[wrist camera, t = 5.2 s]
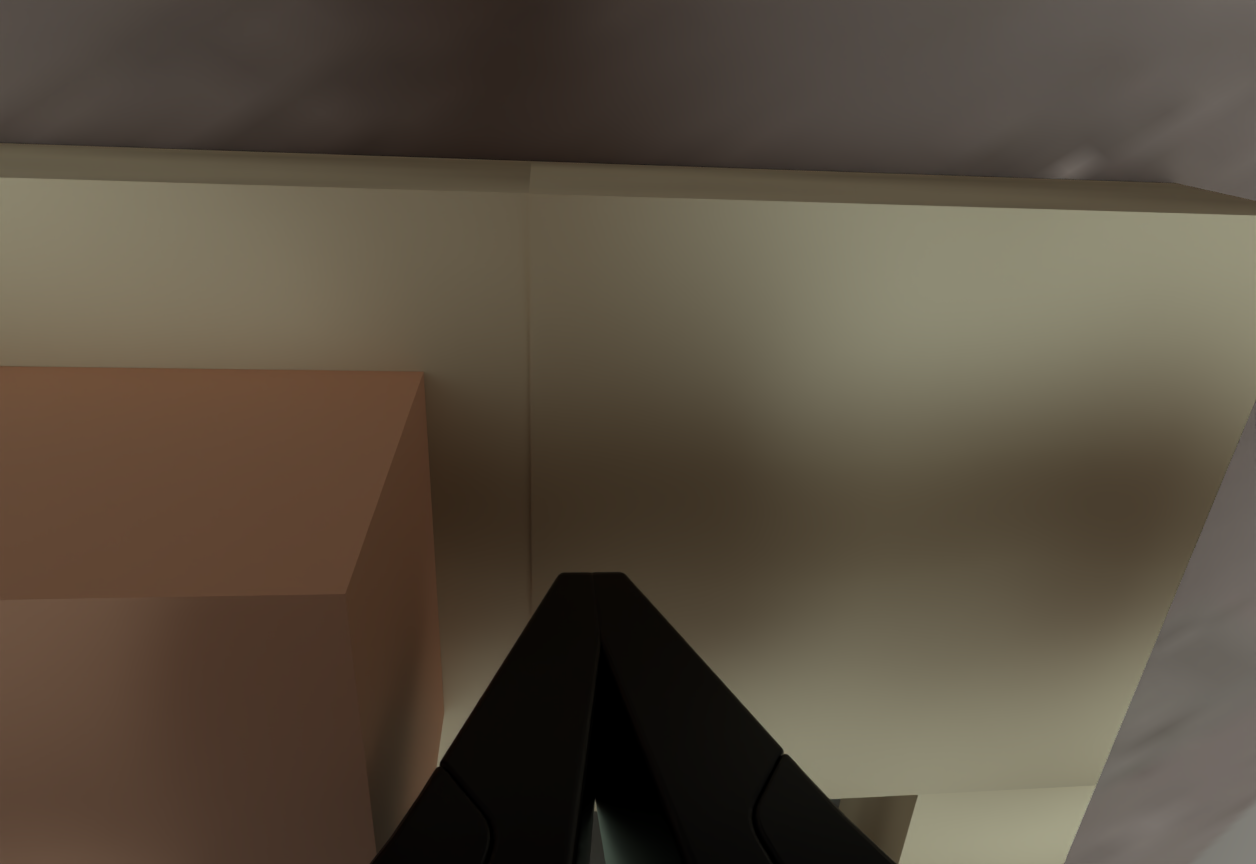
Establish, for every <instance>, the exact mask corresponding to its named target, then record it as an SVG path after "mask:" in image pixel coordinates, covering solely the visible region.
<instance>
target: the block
mask: <svg viewBox="0 0 1256 864" xmlns="http://www.w3.org/2000/svg"><path fill="white" fill-rule="evenodd" d="M443 719H444V699H443V683H442V666H441V650H440V633H439V617H438V600H437V584H436V567H435V551H434V534H433V518H432V501H431V485H430V468H429V452H428V435H427V419H426V402H425V386H424V372H418V371H339V370H260V369H181V368H102V367H23V366H0V864H370V862H371V861H372V860H373V859H374V857H375V856H376V855H377V853H378V852H379V851H380V850H381V848H382V847H383V846H384V844H385V843H386V842H387V841H388V839H389V838H390V836H391V835H392V834H393V832H394V831H395V829H396V828H397V826H398V825H399V823H400V822H401V820H402V819H403V817H404V816H405V814H406V813H407V812H408V810H409V809H410V807H411V806H412V804H413V803H414V801H415V800H416V798H417V797H418V795H419V794H420V792H421V791H422V789H423V787H424V786H425V784H426V783H427V781H428V779H429V778H430V776H431V775H432V773H433V772H434V770H435V769H436V768H437V761H438V754H439V747H440V740H441V733H442V726H443Z"/></svg>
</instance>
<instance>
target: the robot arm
mask: <svg viewBox="0 0 1256 864" xmlns="http://www.w3.org/2000/svg"><path fill="white" fill-rule="evenodd" d="M595 802H596V808H597V814H598V820H599V826H600V832H601V838H602V844H603V850H604V856H605V863H606V864H897V863H896V862H894V861H893V860H892V859H891V858H890V857H889V856H888V855H887V854H886V853H885V852H884V851H883V850H881V849H880V848H879V847H878V846H877V845H876V844H875V843H874V842H873V841H872V840H871V839H870V838H869V837H868V836H867V835H866V834H865V833H863V832H862V831H861V830H860V829H859V828H858V827H857V826H856V825H855V824H854V823H853V822H852V821H851V820H850V819H849V818H848V817H847V816H845V815H844V813H843V812H842V811H841V810H840V809H839V808H838V807H837V806H836V805H835V804H834V803H833V802H832V801H831V800H830V799H829V798H828V797H827V796H826V795H825V794H824V793H823V791H822V790H821V789H820V788H819V787H818V786H817V785H816V784H815V783H814V782H813V781H812V780H811V779H810V778H809V777H808V776H807V775H806V773H805V772H804V771H803V770H802V769H801V768H800V767H799V766H798V765H797V763H796V762H795V761H794V760H793V759H792V758H791V757H790V756H789V755H788V754H784V750H783V748H782V747H781V746H780V745H779V744H778V743H777V742H776V740H775V739H774V738H773V737H772V736H771V735H770V734H769V733H768V732H767V731H766V729H765V728H764V727H763V726H762V725H761V724H760V723H759V722H758V721H757V719H756V718H755V717H754V716H753V715H752V714H751V713H750V712H749V711H748V709H747V708H746V707H745V706H744V705H743V704H742V703H741V702H740V701H739V699H738V698H737V697H736V696H735V695H734V694H733V693H732V692H731V691H730V689H729V688H728V687H727V686H726V685H725V684H724V683H723V682H722V681H721V679H720V678H719V677H718V676H717V675H716V674H715V673H714V672H713V671H712V669H711V668H710V667H709V666H708V665H707V664H706V663H705V662H704V661H703V659H702V658H701V657H700V656H699V655H698V654H697V653H696V652H695V651H694V649H693V648H692V647H691V646H690V645H689V644H688V643H687V642H686V641H685V639H684V638H683V637H682V636H681V635H680V634H679V633H678V632H677V631H676V629H675V628H674V627H673V626H672V625H671V624H670V623H669V622H668V621H667V619H666V618H665V617H664V616H663V615H662V614H661V613H660V612H659V611H658V609H657V608H656V607H655V606H654V605H653V604H652V603H651V602H650V601H649V599H648V598H647V597H646V596H645V595H644V594H643V593H642V592H641V591H640V589H639V588H638V587H637V586H636V585H635V584H634V583H633V582H632V581H631V579H630V578H629V577H628V576H627V575H626V574H625V573H623V572H592V573H591V572H564V573H560V574H559V575H558V576H557V577H556V579H555V580H554V582H553V584H552V585H551V587H550V588H549V590H548V592H547V593H546V595H545V596H544V598H543V599H542V601H541V603H540V604H539V606H538V607H537V609H536V611H535V612H534V614H533V615H532V617H531V618H530V620H529V622H528V623H527V625H526V626H525V628H524V630H523V631H522V633H521V634H520V636H519V638H518V639H517V641H516V642H515V644H514V645H513V647H512V649H511V650H510V652H509V653H508V655H507V657H506V658H505V660H504V661H503V663H502V664H501V666H500V668H499V669H498V671H497V672H496V674H495V676H494V677H493V679H492V680H491V682H490V683H489V685H488V687H487V688H486V690H485V691H484V693H483V695H482V696H481V698H480V699H479V701H478V702H477V704H476V706H475V707H474V709H473V710H472V712H471V714H470V715H469V717H468V718H467V720H466V721H465V723H464V725H463V726H462V728H461V729H460V731H459V733H458V734H457V736H456V737H455V739H454V741H453V742H452V744H451V745H450V747H449V748H448V750H447V752H446V753H445V755H444V756H443V758H442V760H441V761H440V765H439V767H437V768H436V769H435V770H434V772H433V773H432V775H431V776H430V778H429V779H428V781H427V783H426V784H425V786H424V787H423V789H422V791H421V792H420V794H419V795H418V797H417V798H416V800H415V801H414V803H413V804H412V806H411V807H410V809H409V810H408V812H407V813H406V814H405V816H404V817H403V819H402V820H401V822H400V823H399V825H398V826H397V828H396V829H395V831H394V832H393V834H392V835H391V836H390V838H389V839H388V841H387V842H386V843H385V844H384V846H383V847H382V848H381V850H380V851H379V852H378V853H377V855H376V856H375V857H374V859H373V860H372V861H371V862H370V864H590V854H591V842H592V830H593V819H594V807H595Z"/></svg>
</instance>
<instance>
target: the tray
mask: <svg viewBox="0 0 1256 864" xmlns="http://www.w3.org/2000/svg"><path fill="white" fill-rule="evenodd" d="M0 366H23V367H102V368H181V369H260V370H339V371H418V372H424V386H425V402H426V419H427V435H428V452H429V468H430V485H431V501H432V518H433V534H434V551H435V567H436V584H437V600H438V617H439V633H440V650H441V666H442V683H443V699H444V719H443V726H442V733H441V740H440V747H439V754H438V761H437V767H439V765H440V761H441V760H442V758H443V756H444V755H445V753H446V752H447V750H448V748H449V747H450V745H451V744H452V742H453V741H454V739H455V737H456V736H457V734H458V733H459V731H460V729H461V728H462V726H463V725H464V723H465V721H466V720H467V718H468V717H469V715H470V714H471V712H472V710H473V709H474V707H475V706H476V704H477V702H478V701H479V699H480V698H481V696H482V695H483V693H484V691H485V690H486V688H487V687H488V685H489V683H490V682H491V680H492V679H493V677H494V676H495V674H496V672H497V671H498V669H499V668H500V666H501V664H502V663H503V661H504V660H505V658H506V657H507V655H508V653H509V652H510V650H511V649H512V647H513V645H514V644H515V642H516V641H517V639H518V638H519V636H520V634H521V633H522V631H523V630H524V628H525V626H526V625H527V623H528V622H529V620H530V618H531V617H532V615H533V614H534V612H535V611H536V609H537V607H538V606H539V604H540V603H541V601H542V599H543V598H544V596H545V595H546V593H547V592H548V590H549V588H550V587H551V585H552V584H553V582H554V580H555V579H556V577H557V576H558V575H559V574H560V573H564V572H591V573H592V572H623V573H625V574H626V575H627V576H628V577H629V578H630V579H631V581H632V582H633V583H634V584H635V585H636V586H637V587H638V588H639V589H640V591H641V592H642V593H643V594H644V595H645V596H646V597H647V598H648V599H649V601H650V602H651V603H652V604H653V605H654V606H655V607H656V608H657V609H658V611H659V612H660V613H661V614H662V615H663V616H664V617H665V618H666V619H667V621H668V622H669V623H670V624H671V625H672V626H673V627H674V628H675V629H676V631H677V632H678V633H679V634H680V635H681V636H682V637H683V638H684V639H685V641H686V642H687V643H688V644H689V645H690V646H691V647H692V648H693V649H694V651H695V652H696V653H697V654H698V655H699V656H700V657H701V658H702V659H703V661H704V662H705V663H706V664H707V665H708V666H709V667H710V668H711V669H712V671H713V672H714V673H715V674H716V675H717V676H718V677H719V678H720V679H721V681H722V682H723V683H724V684H725V685H726V686H727V687H728V688H729V689H730V691H731V692H732V693H733V694H734V695H735V696H736V697H737V698H738V699H739V701H740V702H741V703H742V704H743V705H744V706H745V707H746V708H747V709H748V711H749V712H750V713H751V714H752V715H753V716H754V717H755V718H756V719H757V721H758V722H759V723H760V724H761V725H762V726H763V727H764V728H765V729H766V731H767V732H768V733H769V734H770V735H771V736H772V737H773V738H774V739H775V740H776V742H777V743H778V744H779V745H780V746H781V747H782V748H783V750H784V754H788V755H789V756H790V757H791V758H792V759H793V760H794V761H795V762H796V763H797V765H798V766H799V767H800V768H801V769H802V770H803V771H804V772H805V773H806V775H807V776H808V777H809V778H810V779H811V780H812V781H813V782H814V783H815V784H816V785H817V786H818V787H819V788H820V789H821V790H822V791H823V793H824V794H825V795H826V796H827V797H828V798H829V799H830V800H831V801H832V802H833V803H834V804H835V805H836V806H837V807H838V808H839V809H840V810H841V811H842V812H843V813H844V815H845V816H847V817H848V818H849V819H850V820H851V821H852V822H853V823H854V824H855V825H856V826H857V827H858V828H859V829H860V830H861V831H862V832H863V833H865V834H866V835H867V836H868V837H869V838H870V839H871V840H872V841H873V842H874V843H875V844H876V845H877V846H878V847H879V848H880V849H881V850H883V851H884V852H885V853H886V854H887V855H888V856H889V857H890V858H891V859H892V860H893V861H894V862H896V863H897V864H1064V862H1065V860H1066V857H1067V855H1068V852H1069V850H1070V848H1071V845H1072V843H1073V840H1074V838H1075V835H1076V833H1077V831H1078V828H1079V826H1080V823H1081V821H1082V819H1083V816H1084V814H1085V811H1086V809H1087V806H1088V804H1089V802H1090V799H1091V797H1092V794H1093V792H1094V790H1095V787H1096V785H1097V782H1098V780H1099V777H1100V775H1101V773H1102V770H1103V768H1104V765H1105V763H1106V761H1107V758H1108V756H1109V753H1110V751H1111V748H1112V746H1113V744H1114V741H1115V739H1116V736H1117V734H1118V732H1119V729H1120V727H1121V724H1122V722H1123V719H1124V717H1125V715H1126V712H1127V710H1128V707H1129V705H1130V703H1131V700H1132V698H1133V695H1134V693H1135V690H1136V688H1137V686H1138V683H1139V681H1140V678H1141V676H1142V674H1143V671H1144V669H1145V666H1146V664H1147V662H1148V659H1149V657H1150V654H1151V652H1152V649H1153V647H1154V645H1155V642H1156V640H1157V637H1158V635H1159V633H1160V630H1161V628H1162V625H1163V623H1164V620H1165V618H1166V616H1167V613H1168V611H1169V608H1170V606H1171V604H1172V601H1173V599H1174V596H1175V594H1176V591H1177V589H1178V587H1179V584H1180V582H1181V579H1182V577H1183V575H1184V572H1185V570H1186V567H1187V565H1188V562H1189V560H1190V558H1191V555H1192V553H1193V550H1194V548H1195V546H1196V543H1197V541H1198V538H1199V536H1200V533H1201V531H1202V529H1203V526H1204V524H1205V521H1206V519H1207V517H1208V514H1209V512H1210V509H1211V507H1212V504H1213V502H1214V500H1215V497H1216V495H1217V492H1218V490H1219V488H1220V485H1221V483H1222V480H1223V478H1224V476H1225V473H1226V471H1227V468H1228V466H1229V463H1230V461H1231V459H1232V456H1233V454H1234V451H1235V449H1236V447H1237V444H1238V442H1239V439H1240V437H1241V434H1242V432H1243V430H1244V427H1245V425H1246V422H1247V420H1248V418H1249V415H1250V413H1251V410H1252V408H1253V405H1254V403H1255V401H1256V201H1253V200H1249V199H1244V198H1240V197H1235V196H1231V195H1226V194H1222V193H1217V192H1213V191H1208V190H1204V189H1199V188H1195V187H1190V186H1186V185H1181V184H1177V183H1155V182H1125V181H1096V180H1067V179H1038V178H1008V177H979V176H950V175H921V174H892V173H862V172H833V171H804V170H775V169H746V168H716V167H687V166H658V165H629V164H599V163H570V162H541V161H512V160H483V159H453V158H424V157H395V156H366V155H337V154H307V153H278V152H249V151H220V150H190V149H161V148H132V147H103V146H74V145H44V144H15V143H0ZM590 864H606V863H605V856H604V850H603V844H602V838H601V832H600V826H599V820H598V814H597V808H596V802H595V807H594V819H593V830H592V842H591V854H590Z"/></svg>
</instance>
